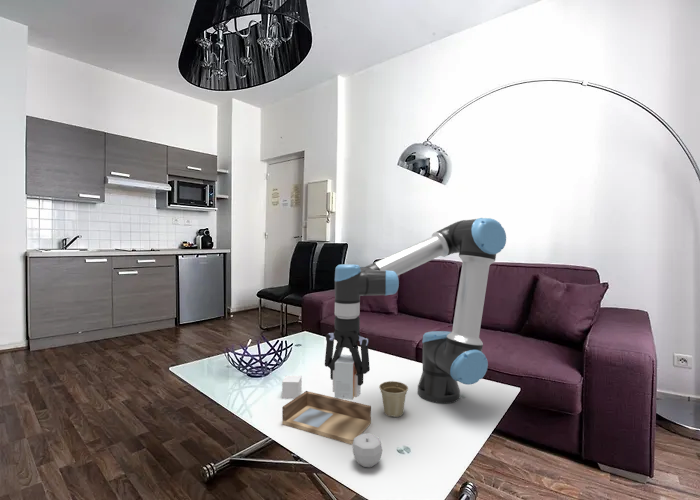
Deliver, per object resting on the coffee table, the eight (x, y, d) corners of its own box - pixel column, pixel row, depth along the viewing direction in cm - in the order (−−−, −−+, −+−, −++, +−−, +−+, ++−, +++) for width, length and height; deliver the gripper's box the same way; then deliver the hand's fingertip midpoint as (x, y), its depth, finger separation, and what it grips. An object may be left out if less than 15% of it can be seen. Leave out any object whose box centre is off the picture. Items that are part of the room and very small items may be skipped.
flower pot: (400, 423, 108) (401, 395, 108) (374, 415, 113) (374, 388, 113) (412, 410, 116) (412, 385, 116) (386, 403, 121) (387, 379, 121)
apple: (346, 468, 86) (346, 442, 86) (357, 451, 93) (357, 426, 93) (377, 476, 83) (378, 449, 83) (386, 457, 90) (386, 432, 90)
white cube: (285, 391, 131) (285, 375, 131) (301, 391, 131) (301, 375, 131) (282, 398, 125) (282, 381, 125) (298, 398, 125) (298, 382, 125)
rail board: (370, 423, 108) (370, 405, 108) (352, 444, 96) (352, 425, 96) (306, 406, 119) (306, 390, 118) (282, 424, 107) (282, 406, 107)
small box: (353, 400, 99) (353, 363, 99) (334, 398, 101) (334, 362, 100) (358, 389, 107) (358, 355, 107) (340, 387, 108) (340, 353, 108)
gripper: (382, 317, 103) (381, 394, 103) (325, 311, 111) (324, 382, 112) (372, 322, 96) (371, 405, 96) (312, 315, 105) (312, 391, 105)
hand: (346, 392), depth 104 cm, fingers closed on small box, 7 cm apart
